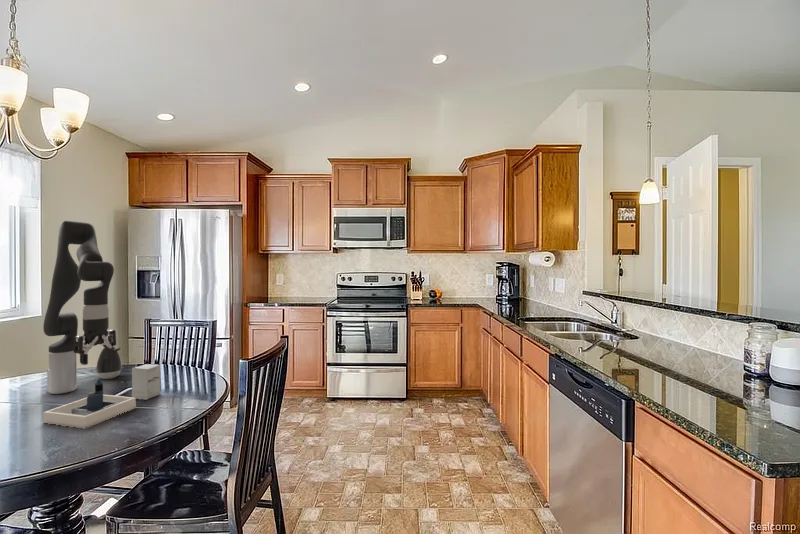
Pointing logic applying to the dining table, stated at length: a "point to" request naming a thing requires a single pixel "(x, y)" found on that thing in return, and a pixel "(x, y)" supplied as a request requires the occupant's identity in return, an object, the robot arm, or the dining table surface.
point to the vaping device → (95, 397)
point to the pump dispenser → (109, 364)
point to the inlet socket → (83, 410)
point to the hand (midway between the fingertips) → (95, 361)
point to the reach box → (66, 417)
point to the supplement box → (145, 381)
